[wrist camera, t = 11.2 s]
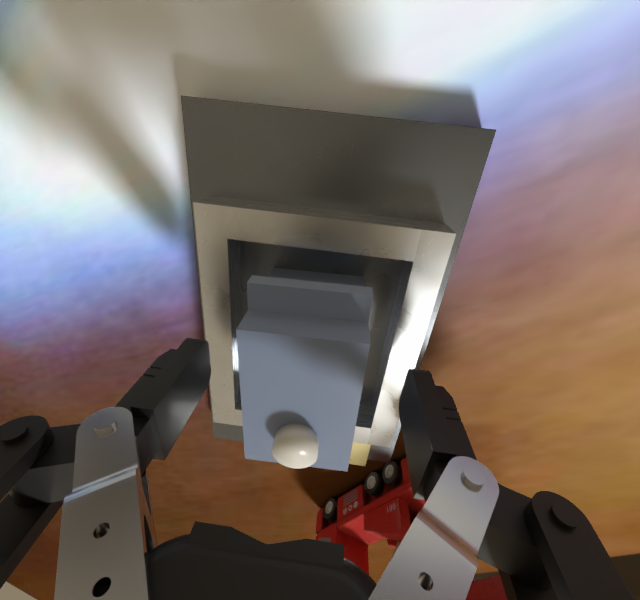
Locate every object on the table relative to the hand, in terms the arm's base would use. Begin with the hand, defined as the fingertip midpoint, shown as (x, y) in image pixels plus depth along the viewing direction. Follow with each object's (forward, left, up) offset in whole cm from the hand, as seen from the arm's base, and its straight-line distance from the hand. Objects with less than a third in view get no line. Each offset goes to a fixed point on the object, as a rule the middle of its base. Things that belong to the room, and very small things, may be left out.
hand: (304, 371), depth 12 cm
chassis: (0, 0, -4) cm, 4 cm away
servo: (0, 0, -3) cm, 3 cm away
